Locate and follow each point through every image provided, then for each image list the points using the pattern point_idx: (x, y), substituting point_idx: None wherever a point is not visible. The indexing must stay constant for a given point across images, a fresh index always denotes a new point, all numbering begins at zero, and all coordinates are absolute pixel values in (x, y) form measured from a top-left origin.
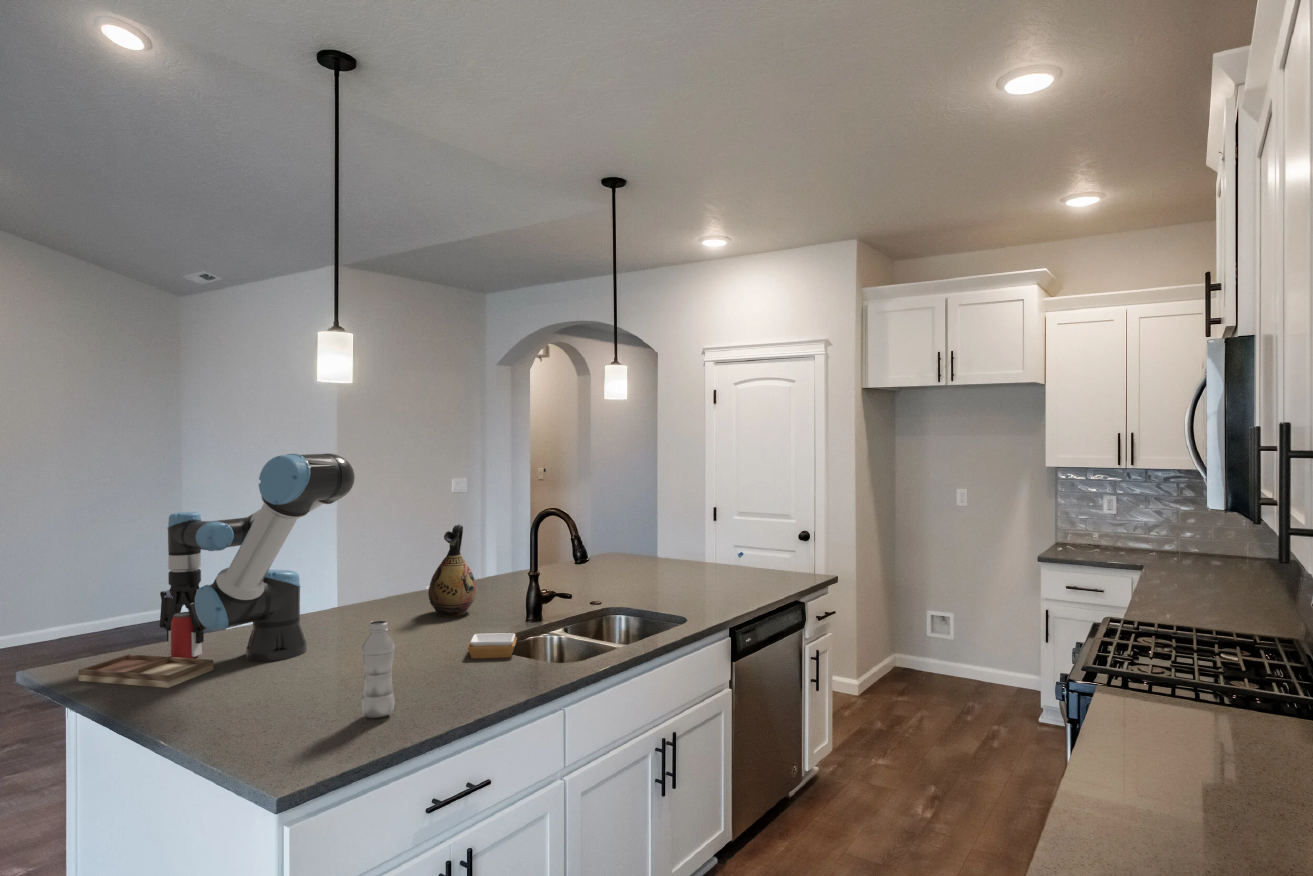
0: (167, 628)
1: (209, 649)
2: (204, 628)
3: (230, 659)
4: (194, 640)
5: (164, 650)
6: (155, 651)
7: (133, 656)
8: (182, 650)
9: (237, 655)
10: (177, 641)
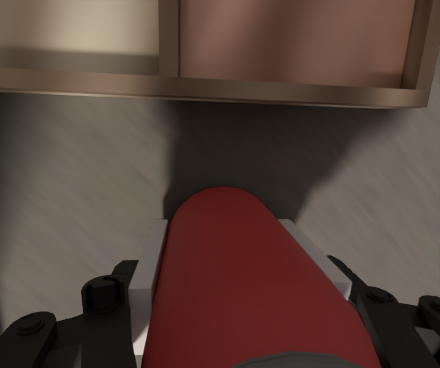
0: (372, 293)
1: None
2: (15, 329)
3: (6, 257)
4: (141, 261)
5: None
6: (404, 283)
7: (382, 88)
8: (195, 207)
9: (31, 310)
10: (224, 215)
